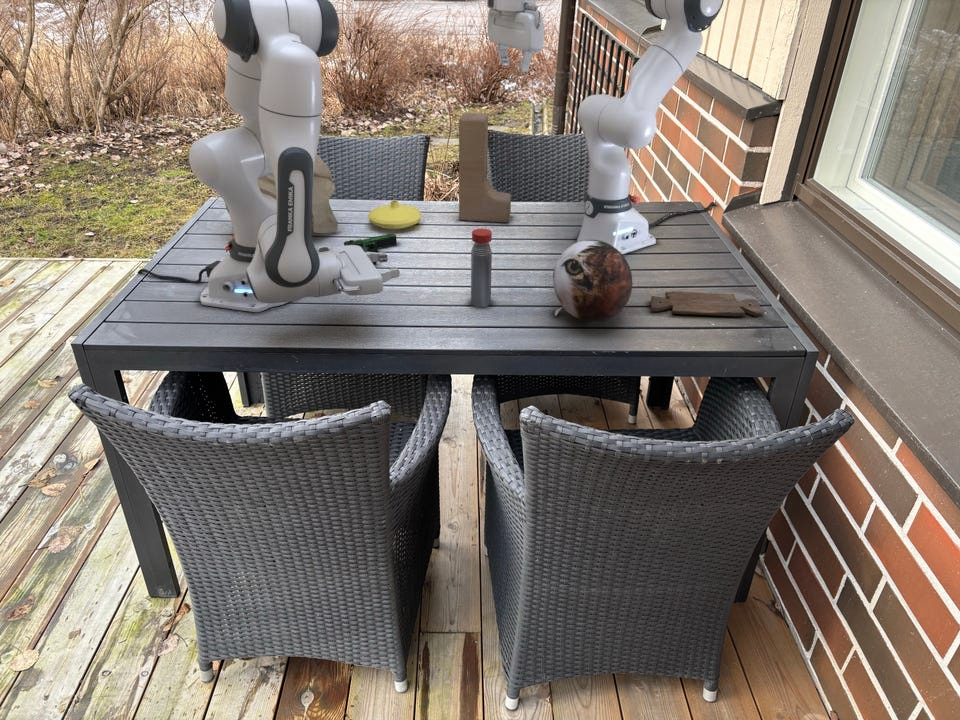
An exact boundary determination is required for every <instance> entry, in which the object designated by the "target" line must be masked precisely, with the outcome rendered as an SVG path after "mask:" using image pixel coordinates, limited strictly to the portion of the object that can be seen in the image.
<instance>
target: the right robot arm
mask: <svg viewBox="0 0 960 720" xmlns="http://www.w3.org/2000/svg"><path fill="white" fill-rule="evenodd" d="M724 1H725V0H644V6H645V9H646V11H647V12H648V14H650V15H651V16H652V17H654V18H656V19H658V20H666V21H665V25H664V27H663V29H662V31H661V33H660V35H658V36H657V38H656V39H655V40H654V41H653V42H652V43H651V44H650V46H649V47H648V48H647V49H646V51H644V52H643V54H642V55H641V57H640V58H639V59H638V60H637V62H635V64H634V65H633V66H632V67H631V69H630V70H629V72H628V73H629V74H628V80H629V85H628V88H627V90H626V92H625V94H624V95H623V96H622V97H620V98H619V97H617V96H614V95H610V94H607V93H606V94H605V93H604V94H603V93H602V94H600V93H599V94H591V95H589V96H586V97H585V98H584V99H583V100H582V101H581V103H580V105H579V107H578V110H577V122H578V125H579V126H580V128H581V130H582V133H583V135H584V139H585V143H586V149H587V153H588V167H589V168H588V182H587V191H586V192H585V196H584V216H583V220H582V225H581V228H580V231H579V234H578V237H577V239H576V243H577V242H579V241H583V240H599V241H603V242H606V243H609V244H610V245H612V246H613V247H615V248H616V249H617V250H618V251H620V252H621V254H622V255H625V254H628V253H631V252H634V251H637V250H640V249H643V248H646V247H650V246H652V245H655V244H656V243H657V239H656V237H655V236H654V235H653V234H651V233H650V232H649V230H650V229H652V228H654V227H655V226H657V225H658V224H660V223H662V222H664V221H665V220H667V219H669V218H671V217H675V216H679V215H686V214H691V213H703V212H706V211H709V210H710V209H711V208H712V207H716V206H717V205H716V203H715V202H714V201H710V203H709V204H708V205H707V206H706V207H703V208H704V210H705V211H704V210H703V209H702V210H693V211H687V212H681V211H682V210H681V211H675V212H671V213H672V215H670V214H671V213H668V214H666V215H664V216H663V217H661V218H658V219H657V220H655V221H654V222H653V223H651V224H650V225H649V222H648V220H647V218H646V217H645V216H644V215H642V214H641V213H640V212H638V211H637V210H636V208H634V207H633V203H634V205H639V203H640V202H641V198H640V197H639V196H637V195H636V194H635V195H631V194H630V192H629V191H630V183H631V175H632V165H631V163H630V160H629V158H628V157H627V154H626V150H625V149H631V150H641V149H643V148H646V147H647V146H648V145H649V144H650V143H651V142H652V141H653V139H654V138H655V135H656V132H657V129H658V128H657V126H658V123H657V112H658V110H659V108H660V105H661V104H662V101H663V100H664V99H665V97H666V96H667V94H668V93H669V91H670V90H671V89H672V88H673V87H674V86H675V84H676V83H677V82H678V80H679V79H680V78H681V77H682V76H683V74H684V73H685V72H686V71H687V69H688V68H689V67H690V65H691V64H692V63H693V61H694V60H695V58H696V56H697V54H698V53H699V51H700V49H701V47H702V45H703V40H704V39H703V38H704V37H703V34H702V32H704V31H706V30H707V29H708V28H710V26H711V25H712V23H713V21H715V19H716V18H717V17H718V15H719V13H720V12H721V10H722V8H723V5H724ZM486 8H487V9H488V11H487V37H488V40H489V42H490V43H493V44H496V49H497V53H498V56H499V65H500V66H504V67H506V66H507V67H508V66H509V65H510V57H509V56H508V49H509V48H512V49H516V50H520V51H521V56H522V57H521V62H519V65H518V66H519V69H518V70H519V72H522V73H528V72H529V71H530V63H531V61H532V58H533V56H534V53H540V52H542V50H543V49H544V45H545V27H544V25H545V24H544V19H543V18H544V17H543V16H542V12H541V11H540V9H539V6H538V5H537V0H486ZM677 212H681V213H677ZM673 213H676V214H673ZM668 215H669V216H668ZM666 216H667V217H666ZM664 217H666V218H664ZM663 218H664V219H663Z"/></svg>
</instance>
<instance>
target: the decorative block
mask: <svg viewBox="0 0 960 720" xmlns="http://www.w3.org/2000/svg"><path fill="white" fill-rule="evenodd" d="M488 144H489V115H488V114H487V113H473V112H463V113H462V114H461V116H460V117H459V119H458V218H459V220H461V221H474V222H491V223H504V224H505V223H506V224H507V223H508V222H509V220H510V217H511V212H512V211H511V210H512V209H511V208H512V194H511V193H508V192H503V191H498V190H496V189H495V188H494V187H492V186H491V184H490V180H489V178H488V149H489V148H488V146H489V145H488Z"/></svg>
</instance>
